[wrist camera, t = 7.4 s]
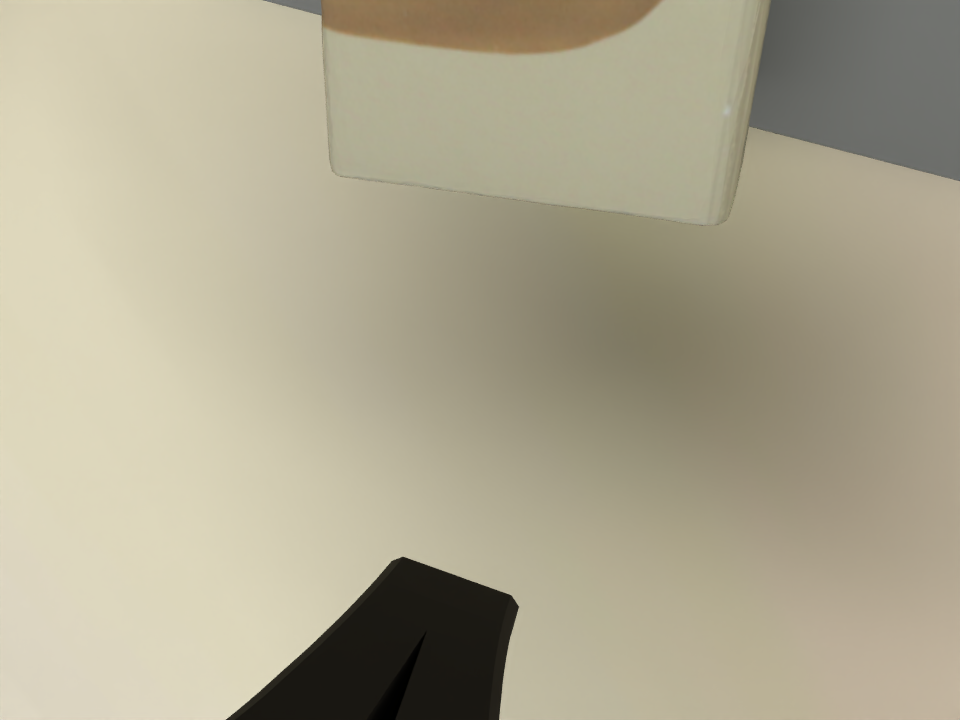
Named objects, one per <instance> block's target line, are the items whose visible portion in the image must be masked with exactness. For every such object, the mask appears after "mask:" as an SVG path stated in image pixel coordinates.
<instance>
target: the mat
mask: <svg viewBox="0 0 960 720" xmlns="http://www.w3.org/2000/svg"><path fill="white" fill-rule="evenodd" d="M264 1H268V2H272V3H276V4H279V5H283V6H287V7H291V8H295V9H299V10H303V11H306V12H310V13H314V14H318V15H322V9H321V0H264ZM749 126H750V127H753V128H757V129H761V130H765V131H769V132H773V133H776V134H780V135H784V136H788V137H792V138H796V139H800V140H803V141H807V142H811V143H815V144H819V145H823V146H827V147H830V148H834V149H838V150H842V151H846V152H850V153H854V154H857V155H861V156H865V157H869V158H873V159H877V160H880V161H884V162H888V163H892V164H896V165H900V166H904V167H907V168H911V169H915V170H919V171H923V172H927V173H931V174H934V175H938V176H942V177H946V178H950V179H954V180H958V181H960V0H771V5H770V10H769V16H768V21H767V27H766V32H765V38H764V43H763V49H762V54H761V60H760V65H759V71H758V76H757V81H756V87H755V93H754V98H753V104H752V109H751V115H750V121H749Z"/></svg>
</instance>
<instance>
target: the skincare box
mask: <svg viewBox="0 0 960 720" xmlns="http://www.w3.org/2000/svg"><path fill="white" fill-rule="evenodd" d="M770 5H771V0H321V9H322V43H323V64H324V79H325V94H326V110H327V126H328V142H329V159H330V164H331V168H332V171H333V172H334V173H335V174H336V175H337V176H341V177H348V178H355V179H362V180H370V181H378V182H386V183H393V184H401V185H411V186H420V187H426V188H432V189H438V190H446V191H454V192H461V193H468V194H475V195H482V196H490V197H498V198H506V199H514V200H521V201H528V202H534V203H541V204H548V205H555V206H564V207H573V208H582V209H589V210H597V211H604V212H612V213H619V214H626V215H633V216H640V217H647V218H654V219H662V220H669V221H676V222H682V223H687V224H695V225H702V226H706V225H718V224H720V223H722V222H724V221H726V220H727V218H728V216H729V214H730V211H731V208H732V204H733V201H734V197H735V193H736V189H737V185H738V181H739V177H740V172H741V168H742V163H743V157H744V151H745V145H746V140H747V134H748V127H749V121H750V115H751V109H752V104H753V98H754V93H755V87H756V81H757V76H758V71H759V65H760V60H761V54H762V49H763V43H764V38H765V32H766V27H767V21H768V16H769V10H770Z"/></svg>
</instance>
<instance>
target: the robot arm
mask: <svg viewBox="0 0 960 720" xmlns="http://www.w3.org/2000/svg"><path fill="white" fill-rule="evenodd" d="M518 609H519V606H518V605H517V603H516V602H515V600H514V599H513V597H512V596H511V595H509V594H506V593H503V592H500V591H498V590H495V589H492V588H489V587H486V586H484V585H481V584H478V583H475V582H472V581H470V580H467V579H464V578H461V577H458V576H456V575H453V574H450V573H447V572H444V571H442V570H439V569H436V568H433V567H430V566H428V565H425V564H422V563H419V562H416V561H414V560H411V559H408V558H405V557H401V558H399V559H396V560H393V561H391V563H390V564H389V565H388V566H387V567H386V569H385V570H384V571H383V572H382V573H381V574H380V576H379V577H378V578H377V579H376V580H375V581H374V582H373V583H372V584H371V586H370V587H369V588H368V589H367V590H366V591H365V592H364V593H363V594H362V595H361V596H360V597H359V598H358V599H357V601H356V602H355V603H354V604H353V605H352V606H351V607H350V608H349V609H348V610H347V611H346V612H345V613H344V614H343V615H342V616H341V617H340V618H339V619H338V620H337V621H336V622H335V623H334V624H333V625H332V626H331V627H330V628H329V629H327V630H326V631H325V632H324V633H323V634H322V635H321V636H320V637H319V638H318V639H317V640H316V641H315V642H314V643H313V644H312V645H311V646H310V647H309V648H308V649H307V650H305V651H304V652H303V653H302V654H301V655H300V656H299V657H298V658H297V659H295V660H294V661H293V662H292V663H291V664H290V665H289V666H288V667H287V668H285V669H284V670H283V671H282V672H281V673H280V674H279V675H278V676H277V677H275V678H274V679H273V680H272V681H271V682H270V683H269V684H268V685H266V686H265V687H264V688H263V689H262V690H261V691H260V692H259V693H258V694H256V695H255V696H254V697H253V698H252V699H251V700H249V701H248V702H247V703H246V704H245V705H243V706H242V707H241V708H240V709H239V710H237V711H236V712H235V713H234V714H232V715H231V716H230V717H229V718H227V719H226V720H499V714H500V704H501V694H502V684H503V676H504V669H505V662H506V656H507V650H508V645H509V640H510V636H511V633H512V629H513V626H514V622H515V619H516V616H517V612H518Z"/></svg>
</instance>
